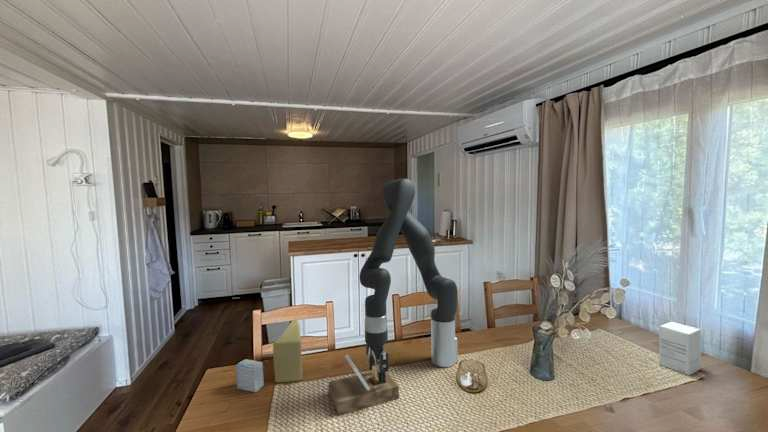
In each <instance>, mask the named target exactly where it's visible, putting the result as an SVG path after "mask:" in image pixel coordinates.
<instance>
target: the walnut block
mask: <svg viewBox="0 0 768 432" xmlns="http://www.w3.org/2000/svg"><path fill="white" fill-rule="evenodd" d="M360 374H361V375H362V377H363V378H364V380H365V381H366V383H367V384H368V386H369V387H370V390H369V391H367V389H366V388H365V386H364V385H363V383H362V382H361V380H360V379H359V377H358V376H357V374H355V375H351V376H348V377H343V378H340V379H335V380H331V381H328V395H329V398H330V400H331V402H332V404H333V407H334V410H335V412H336V414H337V416H342V415H345V414H346V415H347V414H349V413H352V412H356V411H360V410H363V409H365V408H366V409H367V408H370V407H374V406H376V405H380V404H384V403H388V402H390V401H394V400H398V399H400V387H399V384H397V382H396V381H395V379H393V377H392V376H391V374H389V372H386V381H385V382H384V383H382V384H379V385H376V386H373V379H372V371H369V372H364V373H360Z"/></svg>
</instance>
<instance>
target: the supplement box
mask: <svg viewBox="0 0 768 432" xmlns="http://www.w3.org/2000/svg"><path fill="white" fill-rule="evenodd" d="M658 328H659V333H658V334H659V335H658V337H659V339H658V340H659V341H658V343H659V348H658V349H659V350H658V351H659V352H658V356H659V357H658V358H659V359H658V365H659V366H662V367H665V368H667V367H668V369H671V370H673V371H676V372H678V373H682V374H683V375H687V376H691V375H692V374H695V373H696V372H698V371H699V370H701V365H702V364H701V362H702V361H701V357H702V356H701V355H702V354H701V349H702V348H701V345H702V344H701V339H702V337H701V328H697V327H693V326H689V325H687V324H686V325H684V324H681V323H679V322H674V321H670V322H667V323H663V324H661V325H659V327H658Z"/></svg>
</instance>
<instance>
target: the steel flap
mask: <svg viewBox="0 0 768 432" xmlns="http://www.w3.org/2000/svg"><path fill="white" fill-rule="evenodd" d="M344 357H345V359H346V360H347V362H348V363H349V365H350V366H351V368H352V370H353V372H354V373H355V375H357V376H358V377H359V379H360V380H361V382H362V383H363V385H364V386H365V388H366V389H367V391H369V390H370V387H369V386H368V384H367V383H366V381H365V380H364V378H363V377H362V375H361V374H362V373H361V371H359V369H358V368H357V366H356V365H355V363H354V362H353V361H352V359H351V357H350V356H349V354H348V353H346V354H345V355H344Z"/></svg>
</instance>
